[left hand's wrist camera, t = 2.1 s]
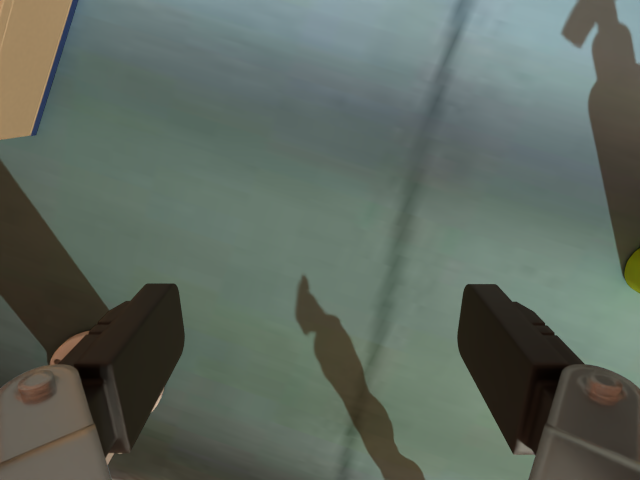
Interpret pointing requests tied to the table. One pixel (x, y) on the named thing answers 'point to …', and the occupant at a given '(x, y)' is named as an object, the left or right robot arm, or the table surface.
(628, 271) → the soap dispenser
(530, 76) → the table surface
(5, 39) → the tan drawer casing
